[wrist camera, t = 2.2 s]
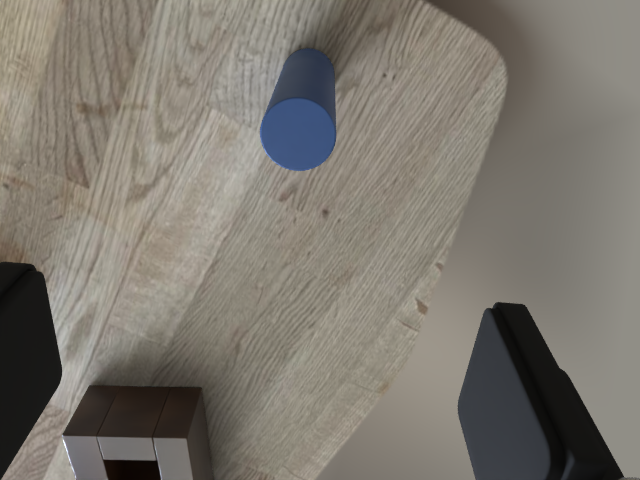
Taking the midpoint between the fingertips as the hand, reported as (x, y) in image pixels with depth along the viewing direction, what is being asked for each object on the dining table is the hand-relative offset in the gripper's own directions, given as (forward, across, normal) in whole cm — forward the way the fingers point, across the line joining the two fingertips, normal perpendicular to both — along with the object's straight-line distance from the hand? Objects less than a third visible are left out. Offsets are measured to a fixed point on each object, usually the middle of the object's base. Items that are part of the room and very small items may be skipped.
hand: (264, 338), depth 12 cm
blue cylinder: (+22, 0, -1) cm, 22 cm away
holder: (+22, +10, +32) cm, 40 cm away
